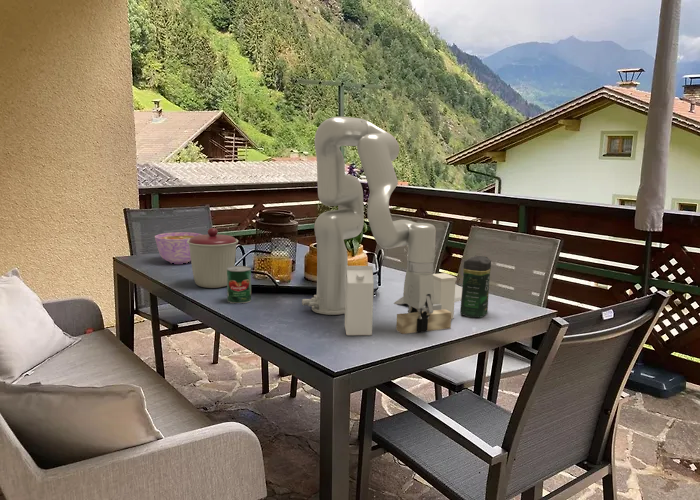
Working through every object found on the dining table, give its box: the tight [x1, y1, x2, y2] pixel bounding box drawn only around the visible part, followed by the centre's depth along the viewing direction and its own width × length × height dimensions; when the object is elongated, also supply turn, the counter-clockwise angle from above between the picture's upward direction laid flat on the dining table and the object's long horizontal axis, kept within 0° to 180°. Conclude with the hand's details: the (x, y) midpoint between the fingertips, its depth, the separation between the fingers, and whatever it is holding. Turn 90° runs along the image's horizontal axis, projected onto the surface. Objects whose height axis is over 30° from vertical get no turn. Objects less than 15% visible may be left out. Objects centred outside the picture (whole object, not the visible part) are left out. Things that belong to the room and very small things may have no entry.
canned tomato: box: [226, 265, 252, 304], centre depth 196 cm, size 8×8×11 cm
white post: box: [422, 272, 458, 320], centre depth 182 cm, size 11×7×13 cm, turn 113°
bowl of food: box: [154, 231, 203, 265], centre depth 254 cm, size 20×20×12 cm
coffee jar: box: [459, 255, 492, 318], centre depth 186 cm, size 10×8×19 cm
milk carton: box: [344, 265, 375, 336], centre depth 166 cm, size 7×7×19 cm
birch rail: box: [395, 309, 452, 335], centre depth 171 cm, size 16×4×5 cm, turn 113°
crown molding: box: [393, 283, 462, 306], centre depth 204 cm, size 29×12×4 cm, turn 134°
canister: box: [187, 227, 239, 289], centre depth 215 cm, size 18×18×21 cm
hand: (417, 328), depth 171 cm, fingers open, 4 cm apart
